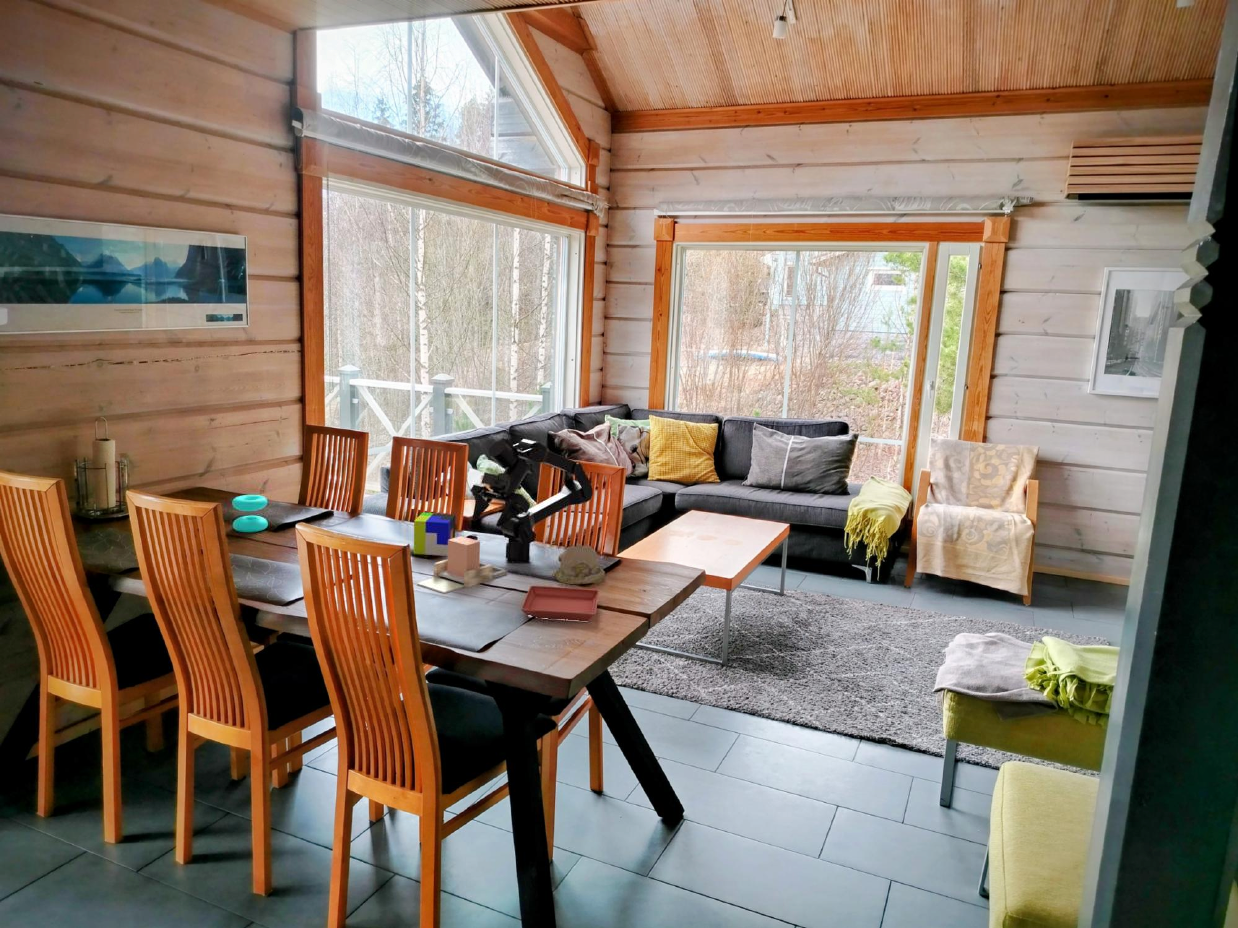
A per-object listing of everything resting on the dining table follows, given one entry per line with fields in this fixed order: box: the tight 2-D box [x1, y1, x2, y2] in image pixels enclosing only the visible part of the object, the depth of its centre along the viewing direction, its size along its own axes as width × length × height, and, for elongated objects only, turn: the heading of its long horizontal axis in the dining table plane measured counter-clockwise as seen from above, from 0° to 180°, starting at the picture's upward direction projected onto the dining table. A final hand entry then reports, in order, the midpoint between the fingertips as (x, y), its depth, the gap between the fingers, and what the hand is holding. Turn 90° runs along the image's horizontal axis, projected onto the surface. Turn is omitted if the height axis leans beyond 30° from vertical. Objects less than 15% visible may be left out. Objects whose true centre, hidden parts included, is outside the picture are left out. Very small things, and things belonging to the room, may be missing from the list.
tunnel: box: [433, 558, 494, 589], centre depth 236 cm, size 10×12×4 cm
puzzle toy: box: [413, 512, 456, 557], centre depth 260 cm, size 10×10×10 cm
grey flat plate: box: [479, 561, 508, 580], centre depth 243 cm, size 6×12×1 cm, turn 56°
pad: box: [416, 577, 465, 594], centre depth 230 cm, size 7×10×1 cm
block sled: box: [439, 535, 481, 584], centre depth 236 cm, size 9×9×10 cm
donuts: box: [231, 494, 269, 533], centre depth 270 cm, size 10×10×10 cm
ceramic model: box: [552, 542, 606, 585], centre depth 242 cm, size 14×11×10 cm
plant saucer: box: [520, 585, 600, 622], centre depth 218 cm, size 18×18×3 cm
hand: (485, 523), depth 242 cm, fingers open, 9 cm apart
